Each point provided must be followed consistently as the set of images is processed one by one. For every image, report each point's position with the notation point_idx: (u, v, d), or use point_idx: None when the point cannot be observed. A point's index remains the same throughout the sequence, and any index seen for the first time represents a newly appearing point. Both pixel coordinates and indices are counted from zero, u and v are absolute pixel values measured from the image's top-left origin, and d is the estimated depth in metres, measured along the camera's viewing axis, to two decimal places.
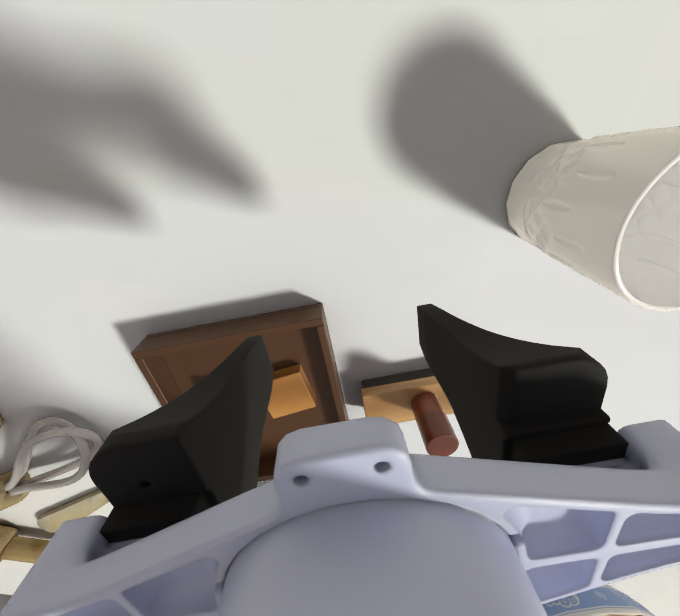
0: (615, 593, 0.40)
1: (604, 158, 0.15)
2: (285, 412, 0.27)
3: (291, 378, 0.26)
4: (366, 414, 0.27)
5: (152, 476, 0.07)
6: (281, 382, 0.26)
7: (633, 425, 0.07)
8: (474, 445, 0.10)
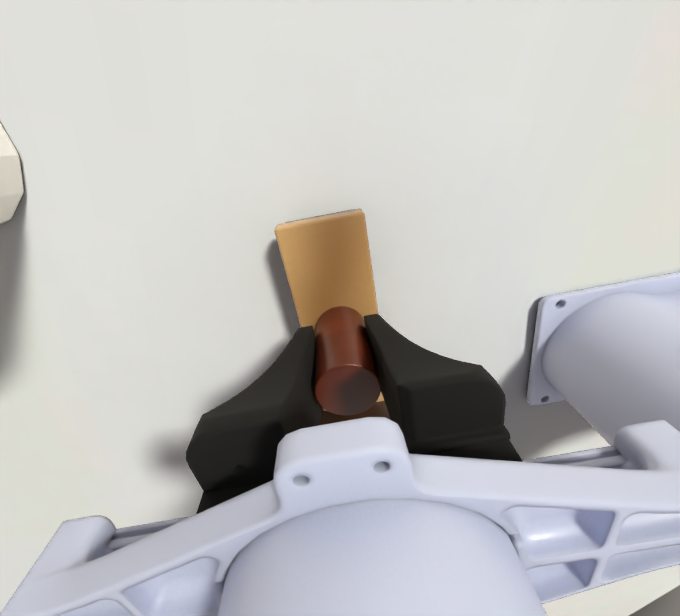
0: None
1: None
2: None
3: None
4: None
5: (247, 460, 0.07)
6: None
7: (633, 425, 0.07)
8: None
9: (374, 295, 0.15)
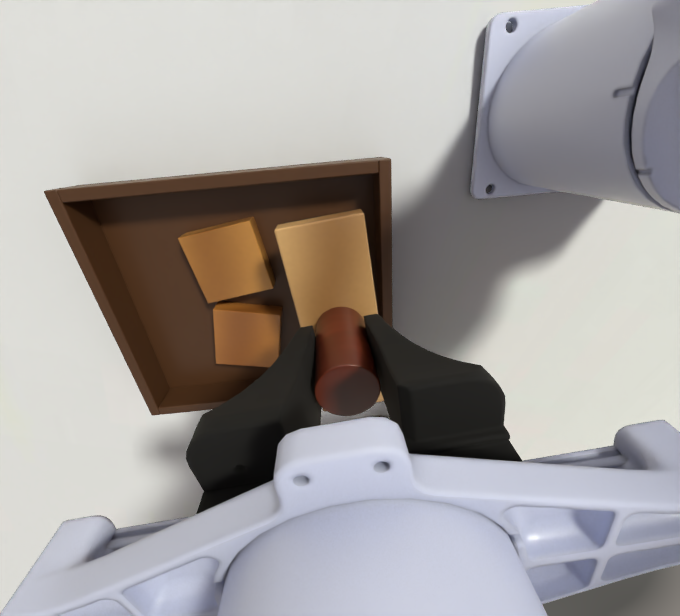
0: None
1: None
2: (259, 269, 0.18)
3: (191, 251, 0.17)
4: None
5: (247, 460, 0.07)
6: (199, 266, 0.17)
7: (633, 425, 0.07)
8: None
9: (374, 295, 0.15)
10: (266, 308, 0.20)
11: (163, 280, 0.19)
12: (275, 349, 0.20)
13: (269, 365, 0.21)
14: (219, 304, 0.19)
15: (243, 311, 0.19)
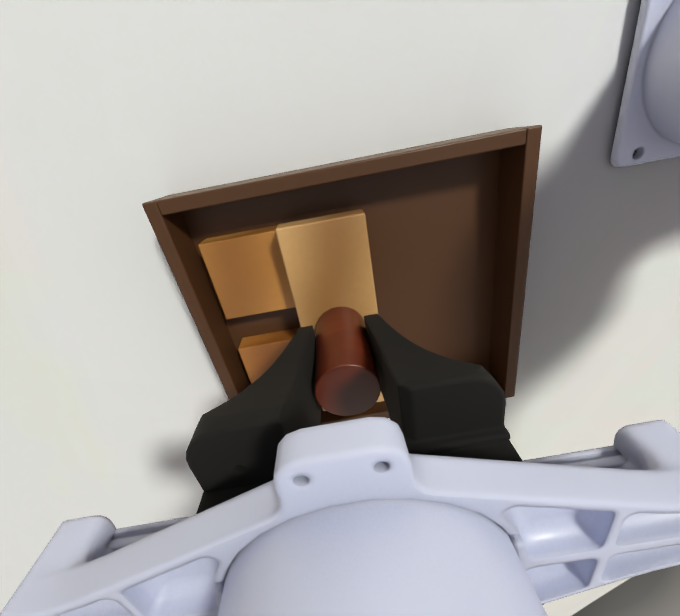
0: None
1: None
2: (289, 285, 0.16)
3: (212, 261, 0.15)
4: None
5: (247, 461, 0.07)
6: (220, 278, 0.15)
7: (633, 425, 0.07)
8: None
9: (374, 295, 0.15)
10: (293, 331, 0.18)
11: None
12: None
13: None
14: (243, 341, 0.18)
15: (269, 342, 0.17)
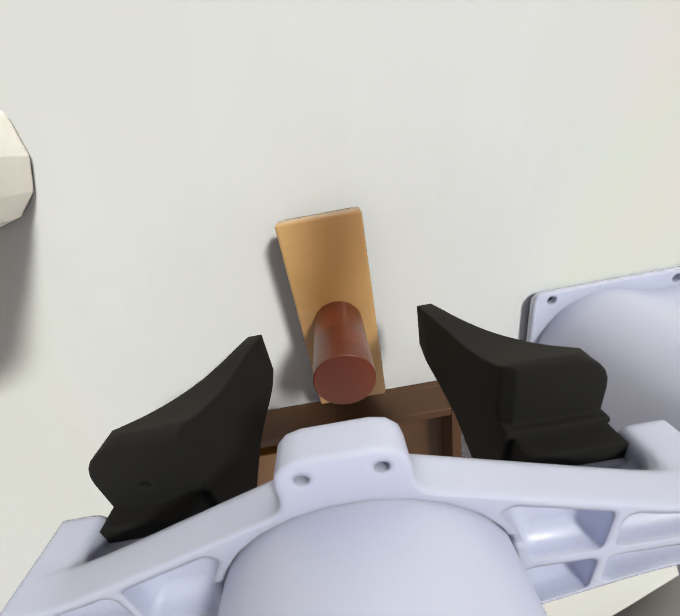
0: None
1: None
2: None
3: None
4: None
5: (152, 477, 0.07)
6: None
7: (633, 425, 0.07)
8: (474, 445, 0.10)
9: (370, 290, 0.15)
10: None
11: None
12: None
13: None
14: None
15: None
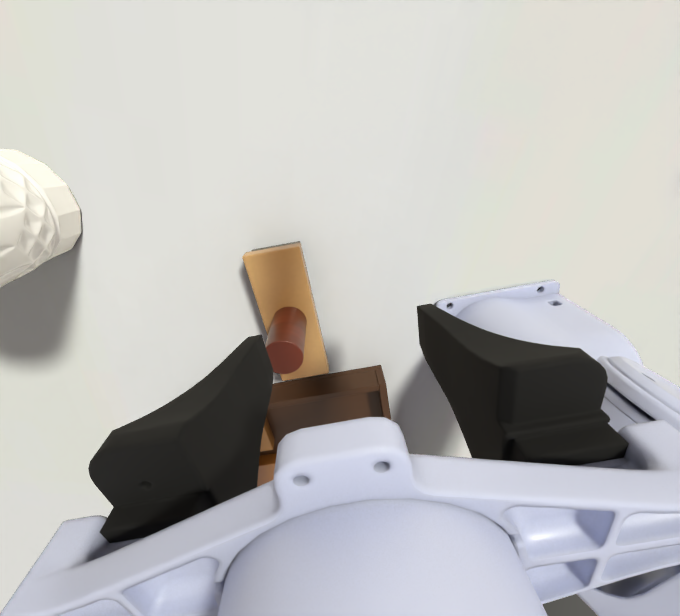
0: None
1: None
2: (265, 441, 0.29)
3: None
4: (308, 376, 0.25)
5: (152, 477, 0.07)
6: None
7: (633, 425, 0.07)
8: (474, 445, 0.10)
9: (311, 299, 0.22)
10: (269, 457, 0.31)
11: None
12: None
13: None
14: None
15: None
